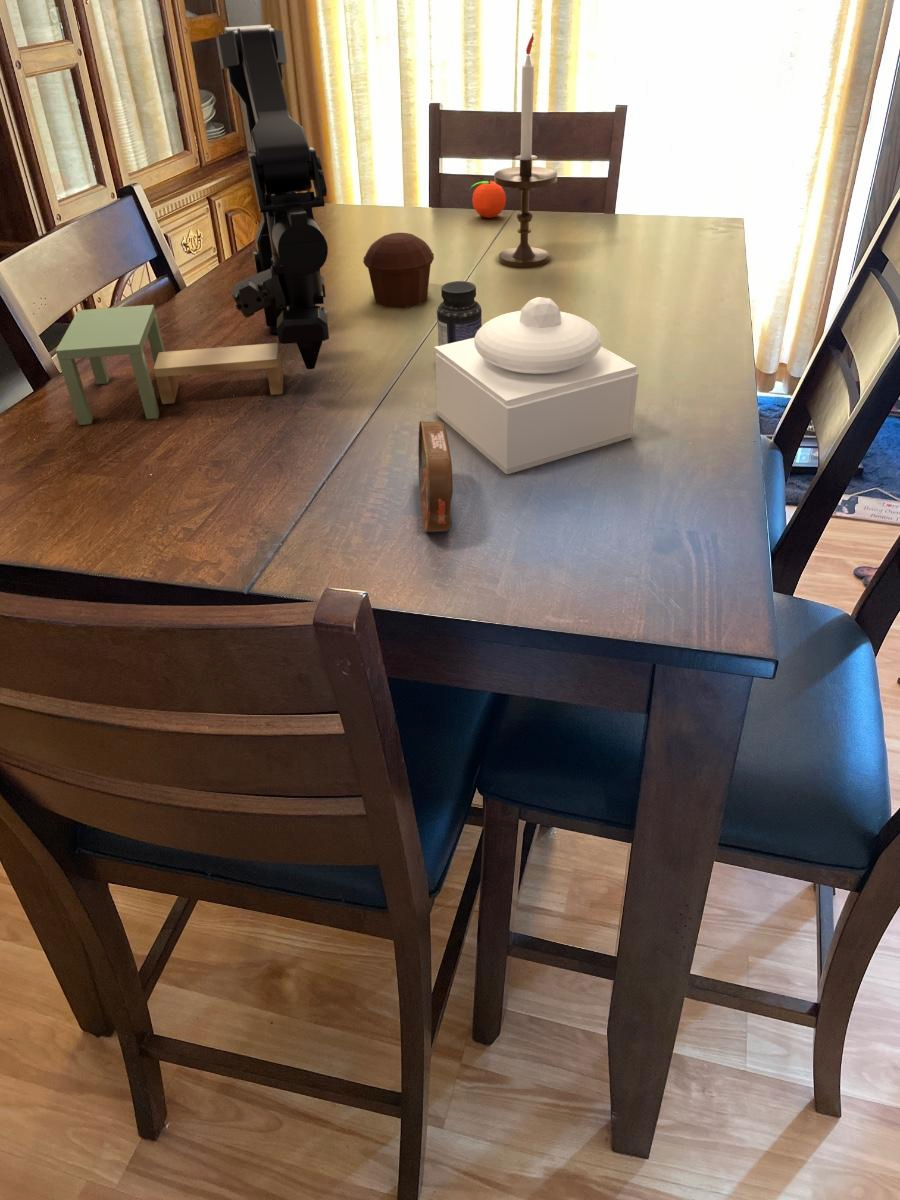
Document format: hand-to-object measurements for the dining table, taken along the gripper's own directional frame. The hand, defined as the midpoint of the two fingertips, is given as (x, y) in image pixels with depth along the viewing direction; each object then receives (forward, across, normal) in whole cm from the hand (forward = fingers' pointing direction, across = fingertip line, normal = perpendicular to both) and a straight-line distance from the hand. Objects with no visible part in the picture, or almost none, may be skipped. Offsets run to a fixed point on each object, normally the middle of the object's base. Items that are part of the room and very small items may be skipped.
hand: (310, 368), depth 120 cm
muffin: (+2, -30, +15) cm, 34 cm away
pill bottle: (+2, -2, +21) cm, 21 cm away
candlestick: (+2, -46, +39) cm, 60 cm away
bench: (+2, 0, -12) cm, 12 cm away
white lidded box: (+2, +18, +27) cm, 33 cm away
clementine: (+2, -75, +37) cm, 84 cm away
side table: (+2, 0, -25) cm, 25 cm away
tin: (+2, +35, +13) cm, 37 cm away
